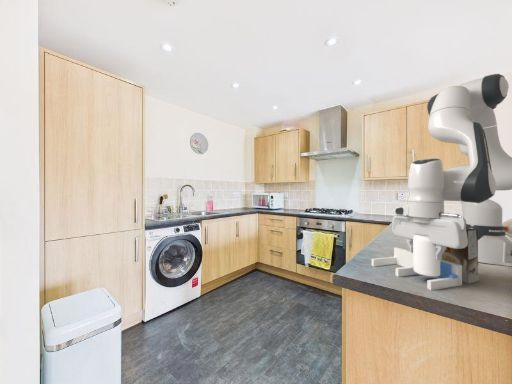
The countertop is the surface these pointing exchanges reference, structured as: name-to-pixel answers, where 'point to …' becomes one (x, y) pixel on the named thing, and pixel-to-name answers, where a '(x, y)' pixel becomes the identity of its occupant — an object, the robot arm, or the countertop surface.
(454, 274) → the white pronged rack
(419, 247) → the can
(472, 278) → the coffee box
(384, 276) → the countertop surface
